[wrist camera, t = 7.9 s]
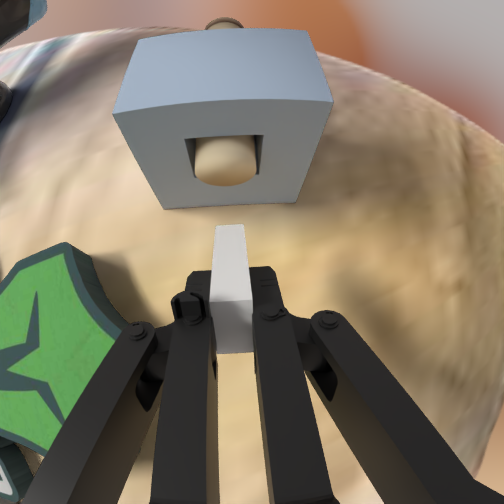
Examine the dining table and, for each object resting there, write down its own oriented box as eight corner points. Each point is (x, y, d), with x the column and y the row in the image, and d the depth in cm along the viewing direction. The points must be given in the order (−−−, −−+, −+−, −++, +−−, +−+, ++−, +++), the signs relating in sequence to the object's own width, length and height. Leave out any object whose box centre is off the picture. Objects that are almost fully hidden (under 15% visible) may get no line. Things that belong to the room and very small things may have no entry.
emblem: (-66, 258, 19) (108, 168, 23) (-47, 266, 23) (123, 190, 27) (-18, 490, 12) (203, 518, 15) (0, 482, 16) (208, 494, 19)
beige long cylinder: (256, 185, 21) (259, 151, 17) (197, 188, 20) (188, 155, 16) (244, 46, 26) (245, 15, 22) (205, 48, 25) (202, 18, 21)
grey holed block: (295, 202, 26) (333, 102, 14) (163, 209, 26) (112, 114, 13) (285, 134, 29) (306, 30, 16) (169, 139, 28) (138, 39, 15)
